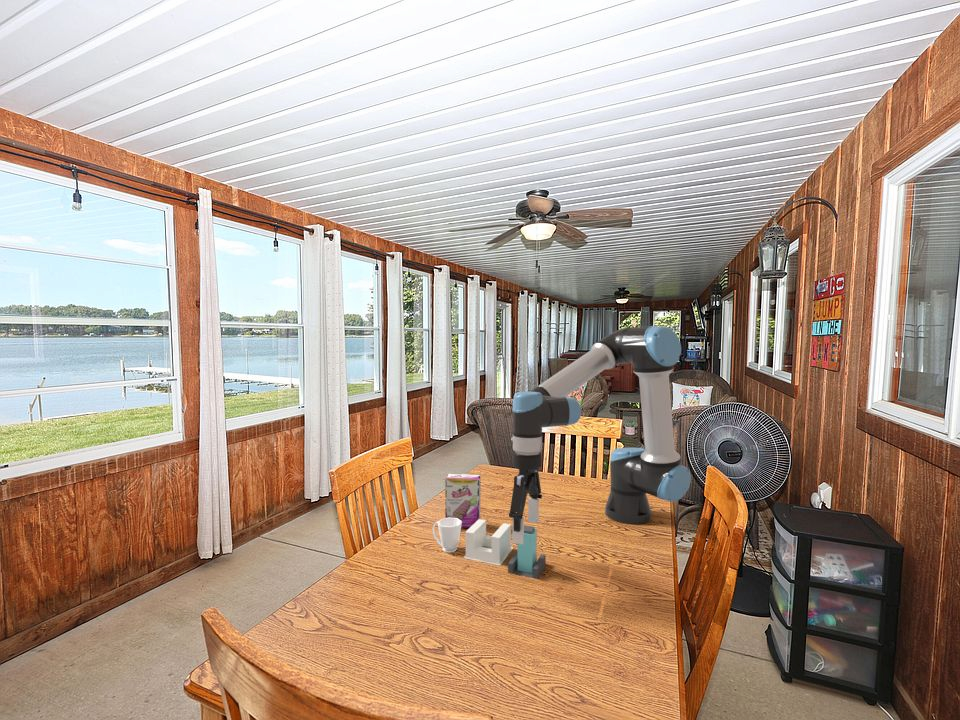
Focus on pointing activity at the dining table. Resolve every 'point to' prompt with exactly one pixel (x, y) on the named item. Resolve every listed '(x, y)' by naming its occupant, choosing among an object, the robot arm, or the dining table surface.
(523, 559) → the plug
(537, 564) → the holster
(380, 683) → the dining table surface
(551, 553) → the dining table surface
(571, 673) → the dining table surface
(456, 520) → the cup
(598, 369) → the robot arm
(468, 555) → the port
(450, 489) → the candy bar box
